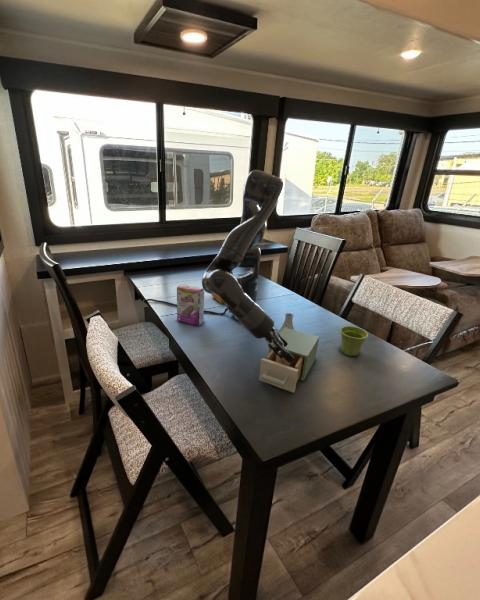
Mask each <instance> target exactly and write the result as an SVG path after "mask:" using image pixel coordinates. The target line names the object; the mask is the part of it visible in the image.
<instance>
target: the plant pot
mask: <svg viewBox="0 0 480 600" xmlns="http://www.w3.org/2000/svg"><path fill="white" fill-rule="evenodd" d="M339 331H340V336H341V338H340V339H341V341H340V343H341V344H340V351H341V352H342V353H343V354H344V355H346V356H348V357H353V356H358V355H359V353H360V351H361V348H362V346H363V344H364V342H365V340H366V339H367V338H368V337H369V333H368V332H367V331H366V330H364V329H363V328H360V327H357V326H352V325H345V326H342V327H340V329H339Z"/></svg>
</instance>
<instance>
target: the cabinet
mask: <svg viewBox="0 0 480 600" xmlns="http://www.w3.org/2000/svg"><path fill="white" fill-rule="evenodd" d="M280 335H281V337H282V338H283V339H284V340H285V341H286V342H287V343H288V345H287V346H285V348H286V349H287V351H288V352H289V353H292V354H295V355H298V356H302V357H305V360H304V366H303V371H302V374H301V376H300V377H299V379H298V381H302V382H304V381H305V379H306V377H307V375H308V374H309V372H310V371H311V368H312V366H313V364H314V363H315V361H316V356H317V350H318V346H319V339H320V336H318V335H315V334H310V333H307V332H303V331H301V330H297V329H296V330H295V329H294V330H292V329H289V328H285V327H284V328H283V330H282V331H281V332H280ZM268 348H269V349H268V354H269V353H270V352H271V351H272V349H271V348H270V347H269V346H268Z"/></svg>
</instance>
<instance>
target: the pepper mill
mask: <svg viewBox="0 0 480 600" xmlns="http://www.w3.org/2000/svg"><path fill="white" fill-rule="evenodd" d="M280 352H281V351H280ZM276 362H277V363H280V364H283V365H286V366H289V367H290V365H291V363H288V362H287V361H286V360H285V359H284V358H280V357H279V356H278V355H277V356H276Z"/></svg>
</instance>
